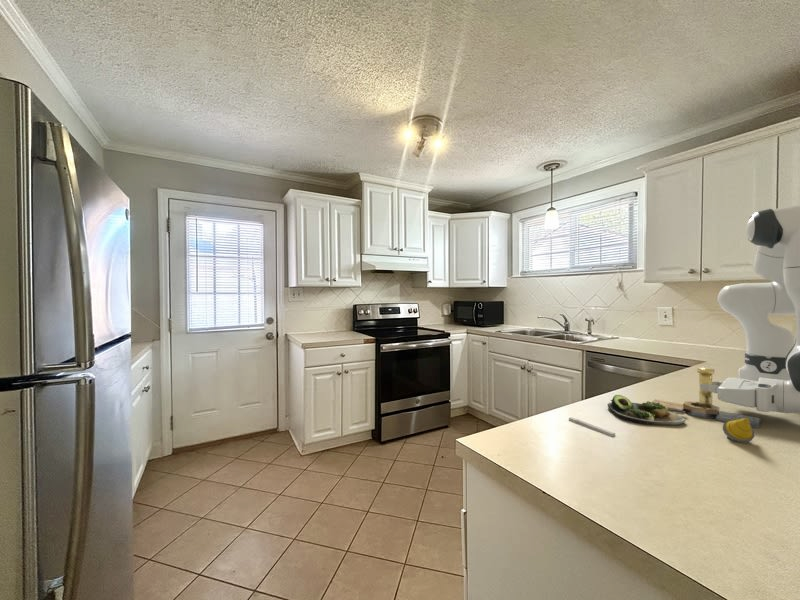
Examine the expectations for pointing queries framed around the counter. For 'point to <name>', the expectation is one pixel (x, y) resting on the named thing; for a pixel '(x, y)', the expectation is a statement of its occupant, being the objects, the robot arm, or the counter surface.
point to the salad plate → (644, 412)
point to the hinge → (707, 411)
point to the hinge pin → (706, 378)
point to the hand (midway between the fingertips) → (701, 384)
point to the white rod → (592, 426)
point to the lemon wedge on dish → (738, 430)
